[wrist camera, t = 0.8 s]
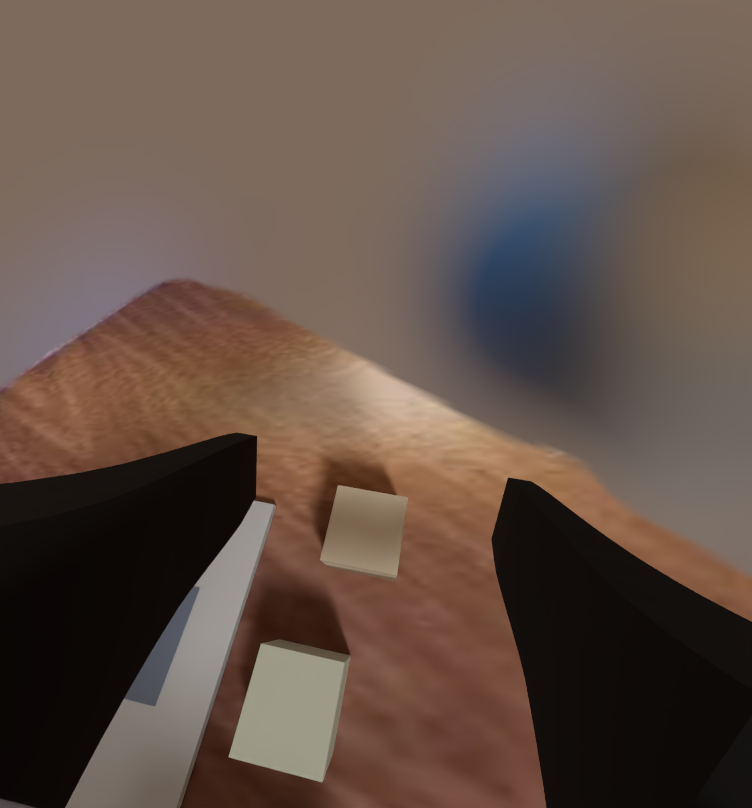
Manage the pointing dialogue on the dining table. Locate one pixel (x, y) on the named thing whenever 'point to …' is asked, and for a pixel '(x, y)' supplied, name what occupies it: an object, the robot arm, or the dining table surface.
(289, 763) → the sage block
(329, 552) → the birch block
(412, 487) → the dining table surface
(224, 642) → the white flat board
